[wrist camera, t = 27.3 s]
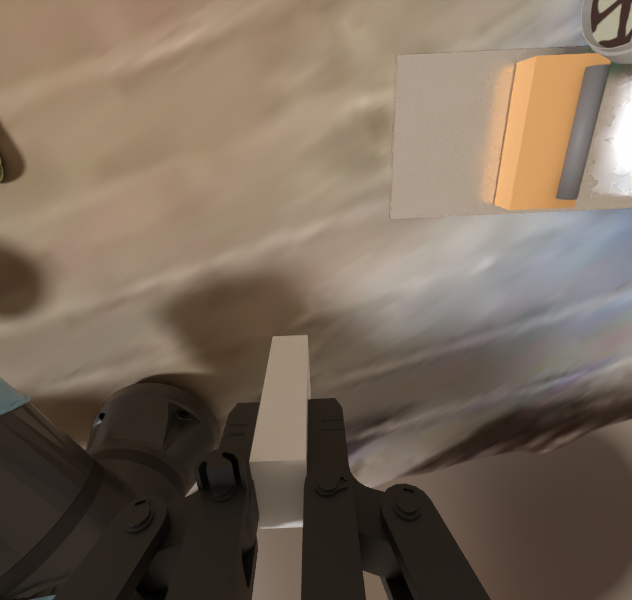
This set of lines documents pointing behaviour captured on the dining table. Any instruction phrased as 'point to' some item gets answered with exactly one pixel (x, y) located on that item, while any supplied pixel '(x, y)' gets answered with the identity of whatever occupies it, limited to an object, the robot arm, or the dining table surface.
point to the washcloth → (1, 171)
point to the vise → (489, 134)
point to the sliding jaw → (550, 130)
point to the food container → (608, 28)
